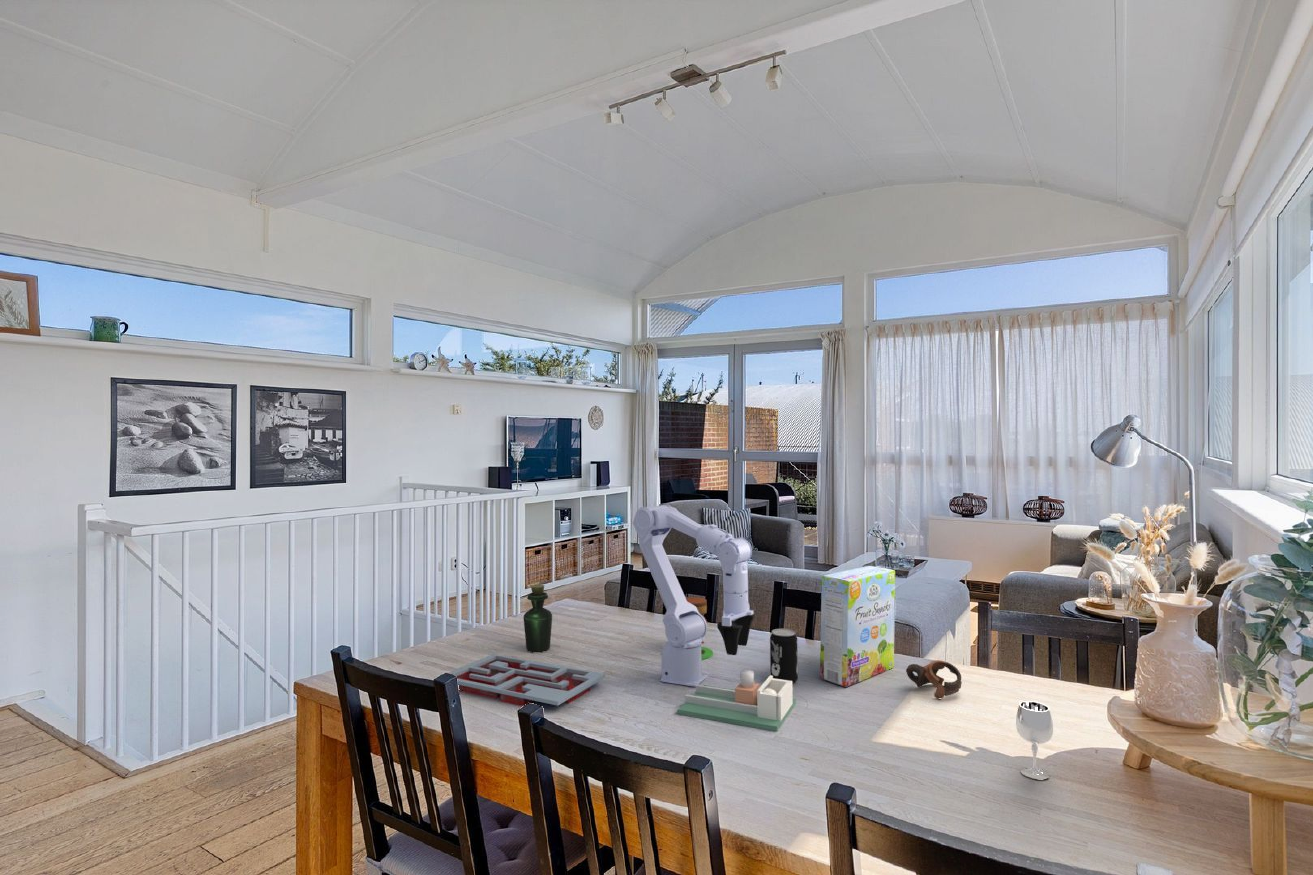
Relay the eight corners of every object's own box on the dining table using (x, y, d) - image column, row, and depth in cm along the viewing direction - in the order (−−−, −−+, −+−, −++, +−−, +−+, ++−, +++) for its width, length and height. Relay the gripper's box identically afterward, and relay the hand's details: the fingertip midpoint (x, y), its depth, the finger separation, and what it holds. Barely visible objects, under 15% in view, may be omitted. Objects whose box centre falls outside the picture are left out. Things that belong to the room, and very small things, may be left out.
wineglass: (1009, 767, 124) (1008, 700, 124) (1039, 765, 124) (1039, 699, 124) (1029, 783, 118) (1028, 713, 118) (1061, 781, 119) (1060, 711, 119)
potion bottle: (538, 643, 201) (537, 581, 201) (558, 648, 196) (558, 585, 196) (517, 650, 194) (516, 586, 194) (538, 655, 190) (537, 590, 190)
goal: (757, 716, 145) (757, 690, 145) (770, 700, 154) (770, 675, 154) (780, 720, 142) (780, 693, 142) (792, 703, 152) (792, 678, 151)
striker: (735, 706, 149) (734, 674, 149) (742, 698, 154) (742, 667, 154) (753, 709, 148) (752, 677, 148) (759, 701, 152) (759, 669, 152)
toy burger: (723, 650, 192) (723, 597, 192) (702, 663, 182) (701, 606, 182) (687, 644, 199) (686, 592, 199) (664, 656, 188) (663, 601, 188)
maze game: (438, 690, 165) (438, 676, 165) (493, 665, 183) (493, 653, 183) (557, 716, 149) (557, 701, 149) (605, 686, 167) (605, 673, 167)
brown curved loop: (953, 687, 165) (964, 663, 161) (954, 718, 157) (965, 693, 153) (902, 670, 168) (911, 646, 164) (900, 700, 160) (910, 675, 156)
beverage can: (797, 686, 165) (797, 636, 165) (769, 684, 166) (769, 634, 166) (797, 676, 171) (797, 628, 171) (770, 675, 172) (770, 627, 172)
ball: (770, 689, 146) (779, 709, 145) (776, 682, 150) (784, 702, 149) (752, 695, 148) (760, 715, 147) (758, 688, 152) (766, 707, 151)
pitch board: (677, 713, 149) (677, 702, 149) (703, 688, 163) (703, 678, 163) (777, 731, 140) (777, 719, 140) (795, 703, 154) (795, 692, 154)
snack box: (849, 689, 162) (848, 580, 162) (818, 680, 169) (817, 575, 169) (897, 668, 177) (896, 568, 177) (867, 660, 183) (866, 563, 183)
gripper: (742, 599, 152) (744, 660, 152) (761, 586, 165) (762, 642, 165) (712, 596, 155) (713, 657, 155) (733, 584, 168) (734, 639, 168)
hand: (737, 649), depth 160 cm, fingers open, 7 cm apart
